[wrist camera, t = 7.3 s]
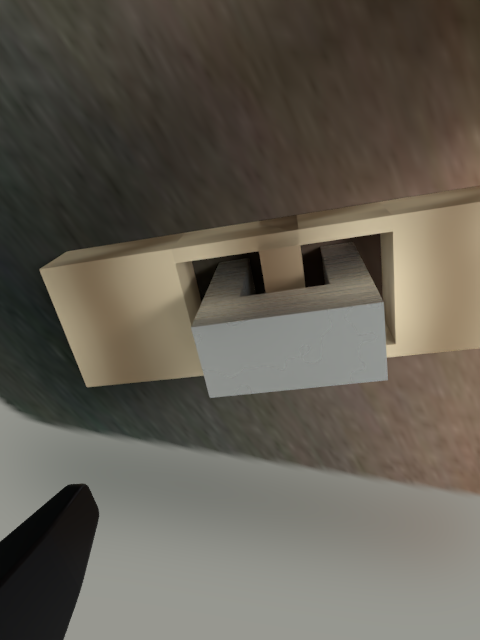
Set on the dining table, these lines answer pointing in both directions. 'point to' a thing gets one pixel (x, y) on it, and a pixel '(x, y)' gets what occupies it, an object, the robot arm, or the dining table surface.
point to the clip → (291, 329)
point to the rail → (268, 283)
